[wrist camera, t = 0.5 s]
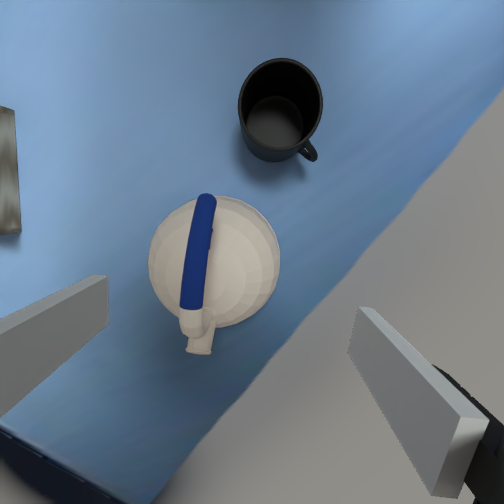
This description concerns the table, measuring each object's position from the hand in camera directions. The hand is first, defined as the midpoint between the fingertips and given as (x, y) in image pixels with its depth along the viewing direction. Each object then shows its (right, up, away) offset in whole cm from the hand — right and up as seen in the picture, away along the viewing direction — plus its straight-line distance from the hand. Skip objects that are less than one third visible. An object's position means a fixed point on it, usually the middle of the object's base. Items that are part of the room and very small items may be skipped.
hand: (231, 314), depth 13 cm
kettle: (-4, +2, +28) cm, 28 cm away
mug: (+5, +20, +23) cm, 32 cm away
